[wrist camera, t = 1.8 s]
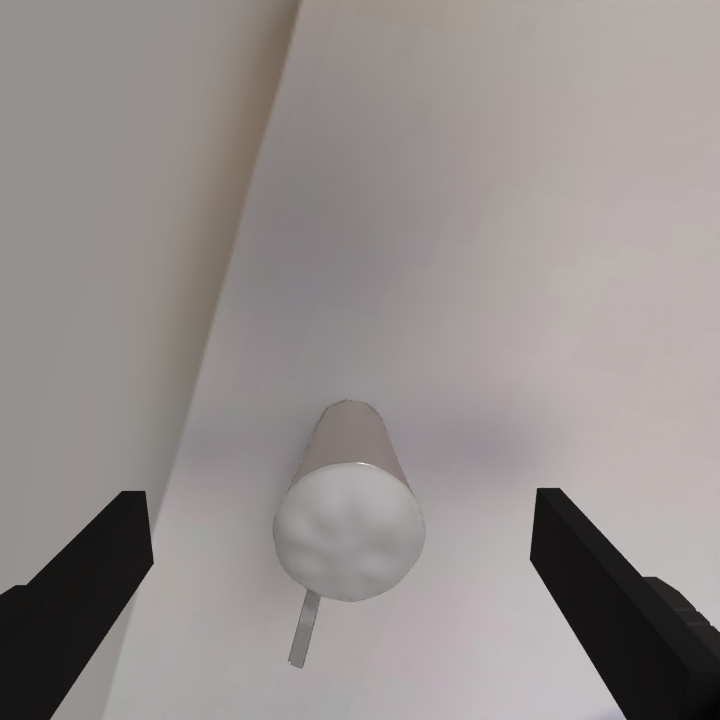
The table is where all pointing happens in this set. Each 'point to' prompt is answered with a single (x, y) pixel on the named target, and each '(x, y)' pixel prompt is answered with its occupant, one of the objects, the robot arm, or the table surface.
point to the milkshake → (346, 516)
